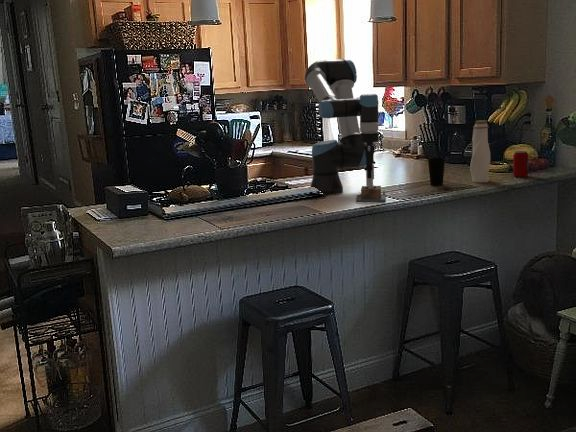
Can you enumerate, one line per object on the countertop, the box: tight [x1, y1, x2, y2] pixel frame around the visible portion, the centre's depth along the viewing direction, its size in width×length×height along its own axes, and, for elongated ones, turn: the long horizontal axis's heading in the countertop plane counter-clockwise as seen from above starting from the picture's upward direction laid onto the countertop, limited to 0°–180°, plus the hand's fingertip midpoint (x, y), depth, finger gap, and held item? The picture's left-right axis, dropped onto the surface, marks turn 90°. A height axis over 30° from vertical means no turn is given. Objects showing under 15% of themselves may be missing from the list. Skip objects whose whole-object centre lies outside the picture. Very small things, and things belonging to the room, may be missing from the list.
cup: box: [427, 157, 446, 187], centre depth 294 cm, size 8×8×12 cm
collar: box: [360, 185, 382, 199], centre depth 269 cm, size 8×8×4 cm
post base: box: [355, 184, 387, 203], centre depth 269 cm, size 12×12×6 cm
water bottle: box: [469, 119, 491, 183], centre depth 296 cm, size 10×9×28 cm
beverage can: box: [512, 150, 529, 178], centre depth 303 cm, size 7×7×12 cm
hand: (370, 182), depth 269 cm, fingers open, 13 cm apart
